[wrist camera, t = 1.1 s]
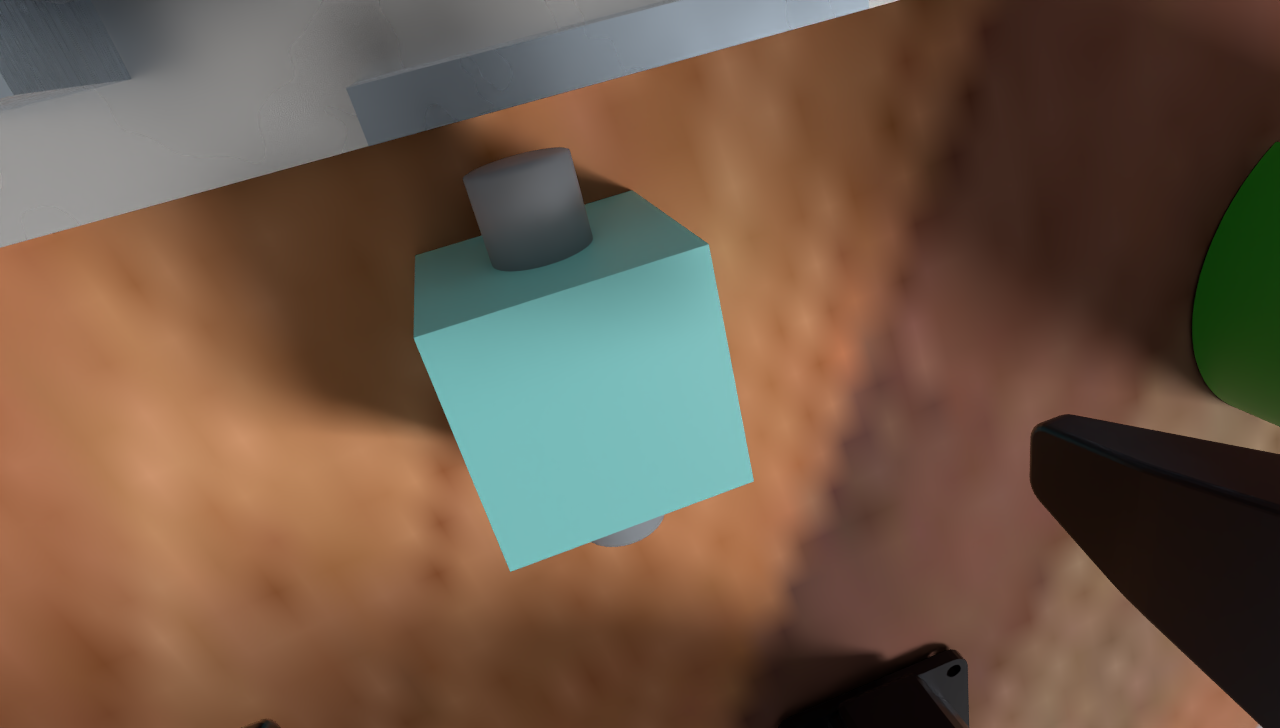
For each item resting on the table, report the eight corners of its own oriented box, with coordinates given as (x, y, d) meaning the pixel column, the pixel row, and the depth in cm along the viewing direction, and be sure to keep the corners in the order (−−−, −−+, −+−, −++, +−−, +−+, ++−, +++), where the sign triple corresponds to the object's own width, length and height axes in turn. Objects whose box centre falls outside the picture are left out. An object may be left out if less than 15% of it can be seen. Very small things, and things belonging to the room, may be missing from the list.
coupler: (613, 114, 14) (689, 144, 10) (687, 430, 18) (765, 544, 14) (385, 179, 13) (372, 237, 10) (508, 494, 17) (535, 632, 13)
